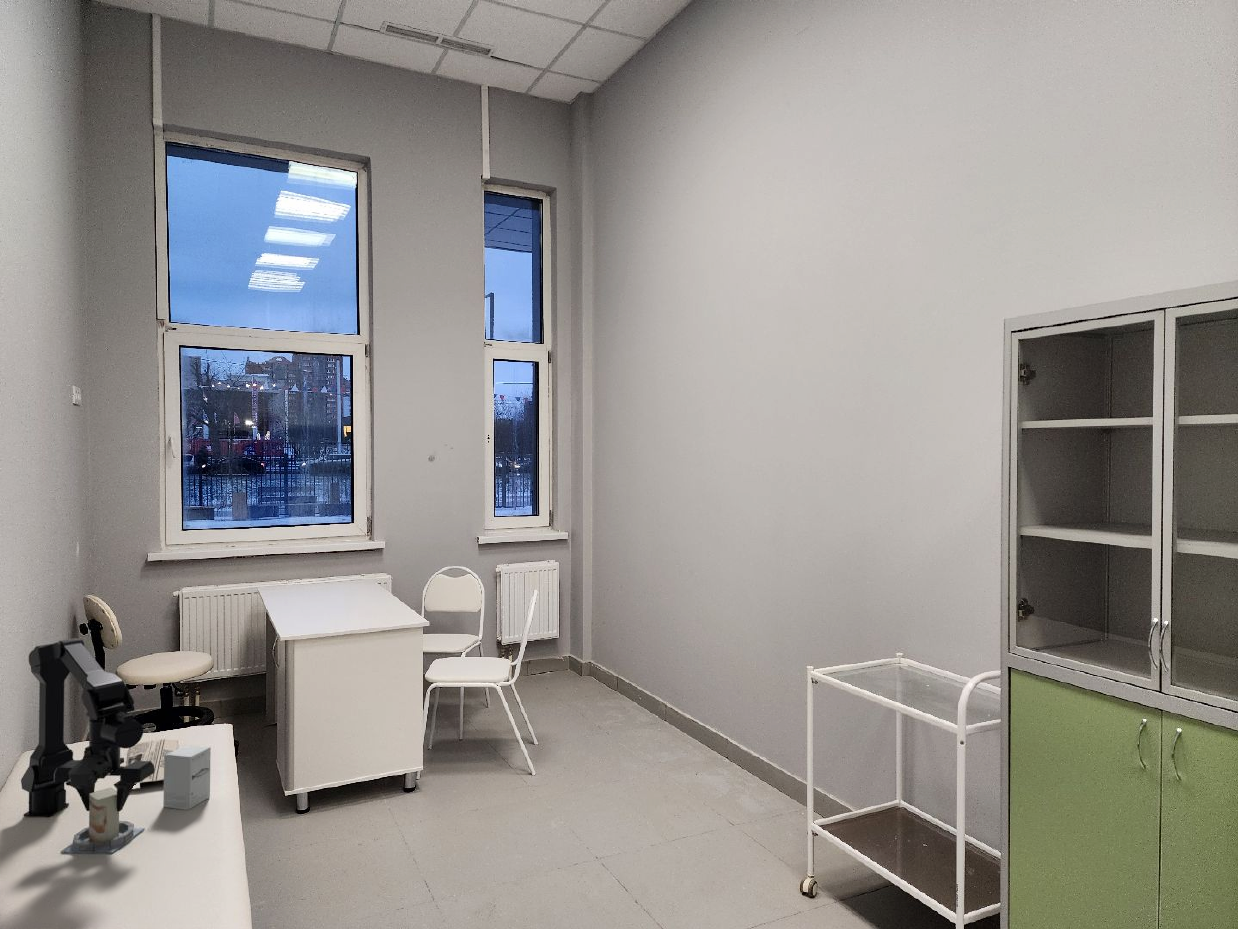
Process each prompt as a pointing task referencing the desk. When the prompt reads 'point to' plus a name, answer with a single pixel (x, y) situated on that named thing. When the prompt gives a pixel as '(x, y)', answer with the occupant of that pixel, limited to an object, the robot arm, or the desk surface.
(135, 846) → the desk surface
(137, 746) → the newspaper
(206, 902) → the desk surface
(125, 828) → the collar
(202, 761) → the supplement box
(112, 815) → the skincare box
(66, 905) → the desk surface
